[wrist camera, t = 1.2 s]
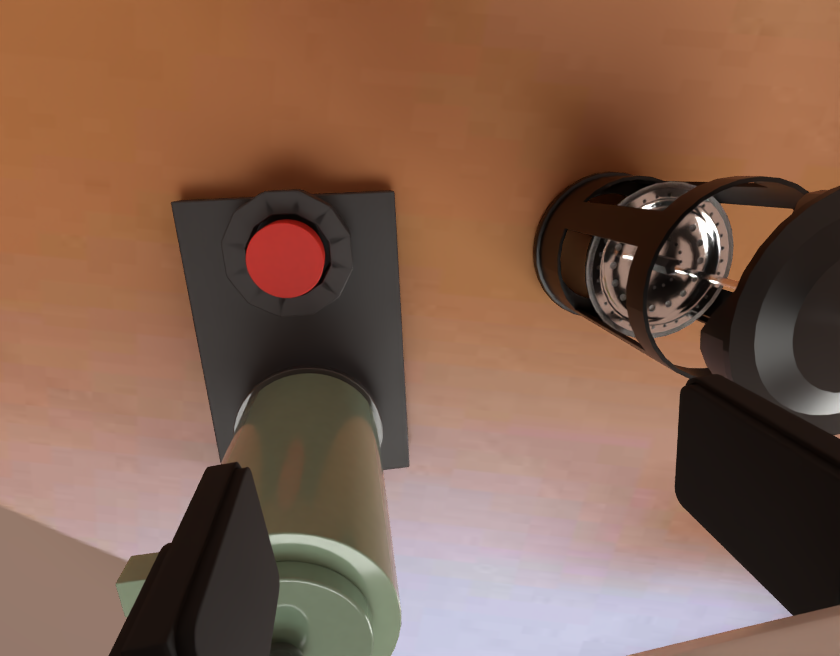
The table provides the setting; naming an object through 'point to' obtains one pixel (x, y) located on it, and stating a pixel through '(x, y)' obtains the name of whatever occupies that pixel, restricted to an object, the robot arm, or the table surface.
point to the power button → (285, 258)
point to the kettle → (316, 512)
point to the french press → (710, 280)
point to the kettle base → (298, 301)
